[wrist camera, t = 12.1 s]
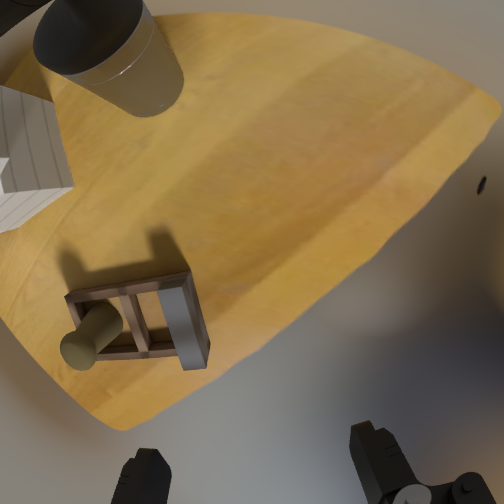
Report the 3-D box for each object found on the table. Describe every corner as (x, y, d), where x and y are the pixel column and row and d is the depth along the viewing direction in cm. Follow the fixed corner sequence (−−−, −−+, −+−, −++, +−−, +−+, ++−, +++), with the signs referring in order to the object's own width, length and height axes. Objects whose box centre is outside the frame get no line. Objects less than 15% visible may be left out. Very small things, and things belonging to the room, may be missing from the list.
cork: (84, 320, 38) (49, 355, 27) (98, 294, 37) (60, 327, 26) (113, 344, 39) (84, 385, 28) (129, 319, 38) (99, 360, 27)
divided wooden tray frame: (71, 291, 36) (50, 306, 30) (190, 270, 36) (181, 286, 30) (96, 353, 39) (80, 373, 33) (210, 343, 39) (206, 368, 33)
